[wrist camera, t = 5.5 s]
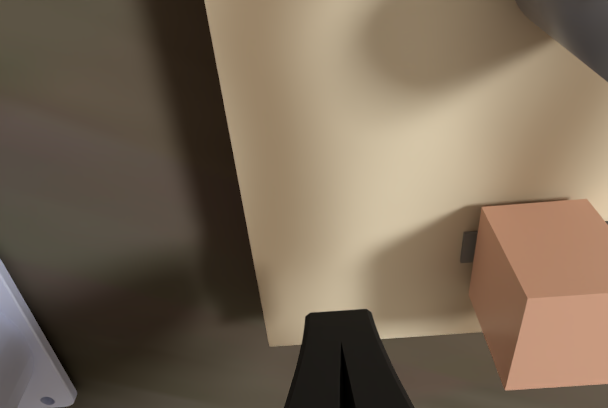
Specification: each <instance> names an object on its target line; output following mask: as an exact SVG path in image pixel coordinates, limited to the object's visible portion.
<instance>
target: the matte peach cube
mask: <svg viewBox="0 0 608 408" xmlns="http://www.w3.org/2000/svg"><path fill="white" fill-rule="evenodd" d="M468 295H469V297H470V300H471V303H472V305H473V308H474V310H475V313H476V316H477V318H478V321H479V324H480V326H481V329H482V331H483V334H484V337H485V339H486V342H487V345H488V347H489V350H490V352H491V355H492V358H493V360H494V363H495V366H496V368H497V371H498V373H499V376H500V379H501V381H502V384H503V387H504V389H505V390H520V389H535V388H550V387H566V386H581V385H596V384H608V225H607V223H606V222H605V221H604V220H603V218H602V217H601V216H600V215H599V213H598V212H597V211H596V210H595V208H594V207H593V206H592V205H591V203H590V202H589V201H588V200H587V199H577V200H564V201H551V202H538V203H525V204H512V205H499V206H486V207H481V214H480V221H479V227H478V234H477V240H476V247H475V254H474V260H473V267H472V274H471V280H470V287H469V294H468Z"/></svg>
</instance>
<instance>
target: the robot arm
mask: <svg viewBox="0 0 608 408" xmlns="http://www.w3.org/2000/svg"><path fill="white" fill-rule="evenodd" d="M76 396H77V391H76V389H75V388H74V386H73V384H72V382H71V381H70V379H69V377H68V375H67V374H66V372H65V370H64V368H63V367H62V365H61V363H60V361H59V360H58V358H57V356H56V355H55V353H54V351H53V349H52V348H51V346H50V344H49V342H48V341H47V339H46V337H45V335H44V334H43V332H42V330H41V328H40V327H39V325H38V323H37V322H36V320H35V318H34V316H33V315H32V313H31V311H30V309H29V308H28V306H27V304H26V302H25V301H24V299H23V297H22V296H21V294H20V292H19V290H18V289H17V287H16V285H15V283H14V282H13V280H12V278H11V276H10V275H9V273H8V271H7V269H6V268H5V266H4V264H3V263H2V261H1V259H0V408H55V407H66V406H70V405H72V404H73V403H74V401H75V399H76ZM284 408H414V406H413V404H412V402H411V400H410V399H409V397H408V395H407V393H406V391H405V389H404V387H403V385H402V384H401V382H400V380H399V378H398V376H397V374H396V372H395V370H394V368H393V366H392V364H391V361H390V359H389V357H388V355H387V353H386V350H385V348H384V346H383V343H382V341H381V339H380V336H379V333H378V331H377V328H376V325H375V322H374V319H373V315H372V312H370V311H369V310H368V309H356V310H341V311H327V312H312V313H309V314H308V315H306V316H305V325H304V333H303V339H302V344H301V349H300V354H299V358H298V362H297V366H296V370H295V373H294V377H293V380H292V383H291V387H290V390H289V393H288V397H287V400H286V403H285V406H284Z"/></svg>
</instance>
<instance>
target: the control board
mask: <svg viewBox="0 0 608 408" xmlns="http://www.w3.org/2000/svg"><path fill="white" fill-rule="evenodd" d="M204 1H205V6H206V12H207V17H208V22H209V28H210V33H211V38H212V44H213V49H214V54H215V60H216V65H217V70H218V76H219V81H220V86H221V91H222V97H223V102H224V107H225V113H226V118H227V123H228V129H229V134H230V139H231V145H232V150H233V155H234V161H235V166H236V171H237V176H238V182H239V187H240V192H241V198H242V203H243V208H244V214H245V219H246V224H247V230H248V235H249V240H250V245H251V251H252V256H253V261H254V267H255V272H256V277H257V283H258V288H259V293H260V299H261V304H262V309H263V315H264V320H265V325H266V330H267V336H268V341H269V346H270V347H272V346H287V345H301V344H302V339H303V333H304V325H305V316H306V315H308V314H309V313H312V312H327V311H341V310H356V309H368V310H369V311H370V312H372V315H373V319H374V322H375V325H376V328H377V331H378V333H379V336H380V339H388V338H402V337H417V336H431V335H445V334H460V333H474V332H483V331H482V329H481V326H480V324H479V321H478V318H477V316H476V313H475V310H474V308H473V305H472V303H471V300H470V297H469V295H468V294H469V287H470V280H471V274H472V267H473V260H474V254H475V247H476V240H477V234H478V227H479V221H480V214H481V207H486V206H499V205H512V204H525V203H538V202H551V201H564V200H577V199H587V200H588V201H589V202H590V203H591V205H592V206H593V207H594V208H595V210H596V211H597V212H598V213H599V215H600V216H601V217H602V218H603V220H604V221H605V222H606V223H607V225H608V82H607V81H606V80H604V79H603V78H602V77H601V76H599V75H598V74H597V73H596V72H594V71H593V70H592V69H591V68H589V67H588V66H587V65H586V64H584V63H583V62H582V61H581V60H579V59H578V58H577V57H576V56H574V55H573V54H572V53H571V52H569V51H568V50H567V49H566V48H564V47H563V46H562V45H561V44H559V43H558V42H557V41H556V40H554V39H553V38H552V37H551V36H549V35H548V34H547V33H546V32H544V31H543V30H542V29H541V28H539V27H538V26H537V25H536V24H534V23H533V22H532V21H531V20H529V19H528V18H527V17H526V16H525V15H524V14H523V12H522V11H521V10H520V8H519V7H518V5H517V3H516V1H515V0H204Z"/></svg>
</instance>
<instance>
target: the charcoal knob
mask: <svg viewBox="0 0 608 408" xmlns="http://www.w3.org/2000/svg"><path fill="white" fill-rule="evenodd" d="M515 1H516V3H517V5H518V7H519V8H520V10H521V11H522V12H523V14H524V15H525V16H526V17H527V18H528V19H529V20H531V21H532V22H533V23H534V24H536V25H537V26H538V27H539V28H541V29H542V30H543V31H544V32H546V33H547V34H548V35H549V36H551V37H552V38H553V39H554V40H556V41H557V42H558V43H559V44H561V45H562V46H563V47H564V48H566V49H567V50H568V51H569V52H571V53H572V54H573V55H574V56H576V57H577V58H578V59H579V60H581V61H582V62H583V63H584V64H586V65H587V66H588V67H589V68H591V69H592V70H593V71H594V72H596V73H597V74H598V75H599V76H601V77H602V78H603V79H604V80H606V81H607V82H608V0H515Z"/></svg>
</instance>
